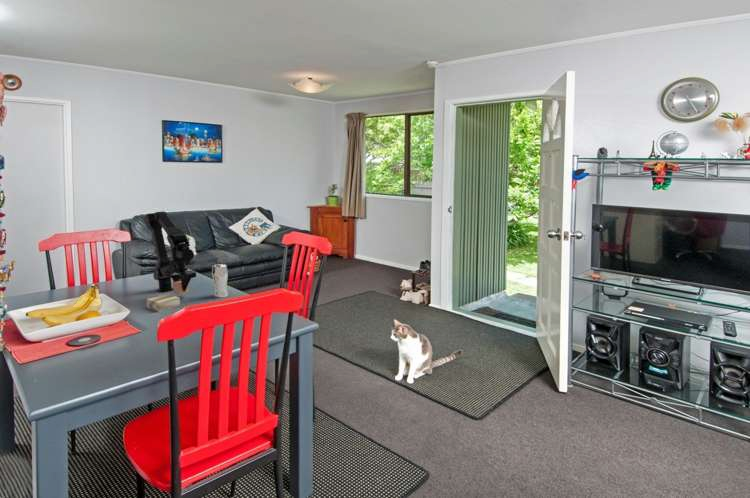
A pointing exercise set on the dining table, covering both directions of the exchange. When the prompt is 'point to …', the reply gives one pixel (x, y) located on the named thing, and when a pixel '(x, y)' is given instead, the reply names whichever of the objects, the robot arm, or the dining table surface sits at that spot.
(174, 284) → the terracotta cube
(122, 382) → the dining table surface
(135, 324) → the dining table surface
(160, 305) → the birch block
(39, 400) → the dining table surface
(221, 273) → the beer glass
